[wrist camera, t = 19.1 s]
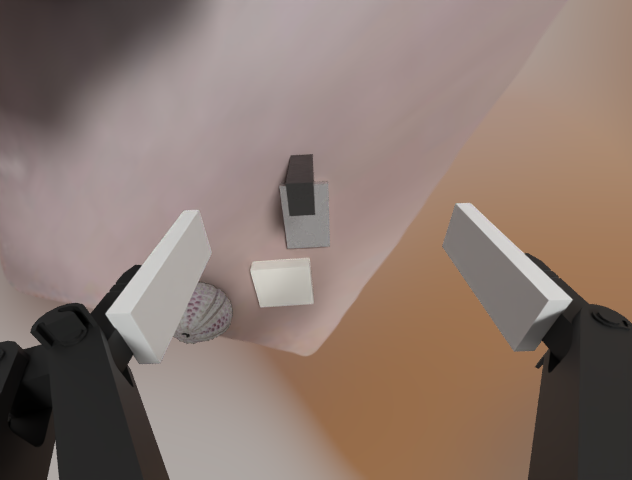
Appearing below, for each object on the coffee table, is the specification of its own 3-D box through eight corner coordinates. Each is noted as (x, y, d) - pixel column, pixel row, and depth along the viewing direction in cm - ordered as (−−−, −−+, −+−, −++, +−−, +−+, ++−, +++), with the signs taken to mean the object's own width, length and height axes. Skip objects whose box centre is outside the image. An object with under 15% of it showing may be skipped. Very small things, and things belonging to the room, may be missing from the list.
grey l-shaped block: (287, 245, 46) (283, 286, 38) (276, 156, 38) (267, 184, 30) (329, 242, 46) (333, 283, 38) (326, 153, 38) (331, 181, 30)
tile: (253, 260, 48) (262, 296, 53) (250, 270, 46) (260, 307, 51) (309, 256, 48) (313, 293, 53) (309, 266, 46) (313, 303, 51)
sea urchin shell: (242, 285, 51) (233, 320, 45) (228, 329, 58) (218, 365, 52) (168, 266, 49) (146, 300, 42) (162, 315, 56) (142, 350, 49)
